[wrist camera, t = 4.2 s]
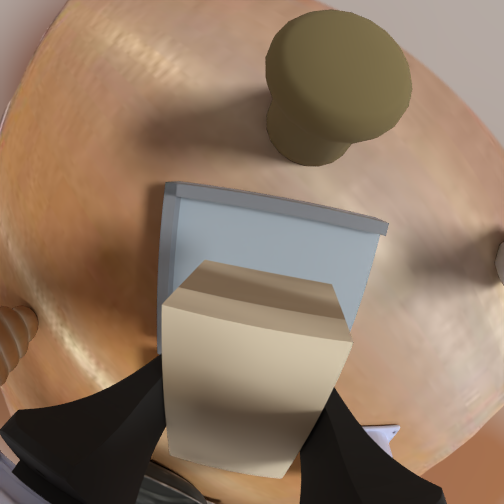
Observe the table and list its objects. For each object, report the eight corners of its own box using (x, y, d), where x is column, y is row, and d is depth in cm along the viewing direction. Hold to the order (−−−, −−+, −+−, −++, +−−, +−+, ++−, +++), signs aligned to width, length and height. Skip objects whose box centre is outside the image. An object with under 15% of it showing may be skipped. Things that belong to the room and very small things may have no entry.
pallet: (285, 417, 12) (281, 478, 9) (193, 399, 13) (169, 455, 9) (331, 284, 10) (353, 342, 6) (204, 259, 10) (161, 304, 7)
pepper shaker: (259, 88, 16) (234, -7, 5) (344, 81, 15) (405, -4, 5) (273, 171, 18) (265, 160, 7) (360, 162, 17) (454, 149, 6)
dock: (328, 367, 21) (332, 386, 19) (168, 337, 22) (157, 353, 19) (375, 217, 18) (388, 223, 15) (179, 181, 18) (165, 182, 16)
